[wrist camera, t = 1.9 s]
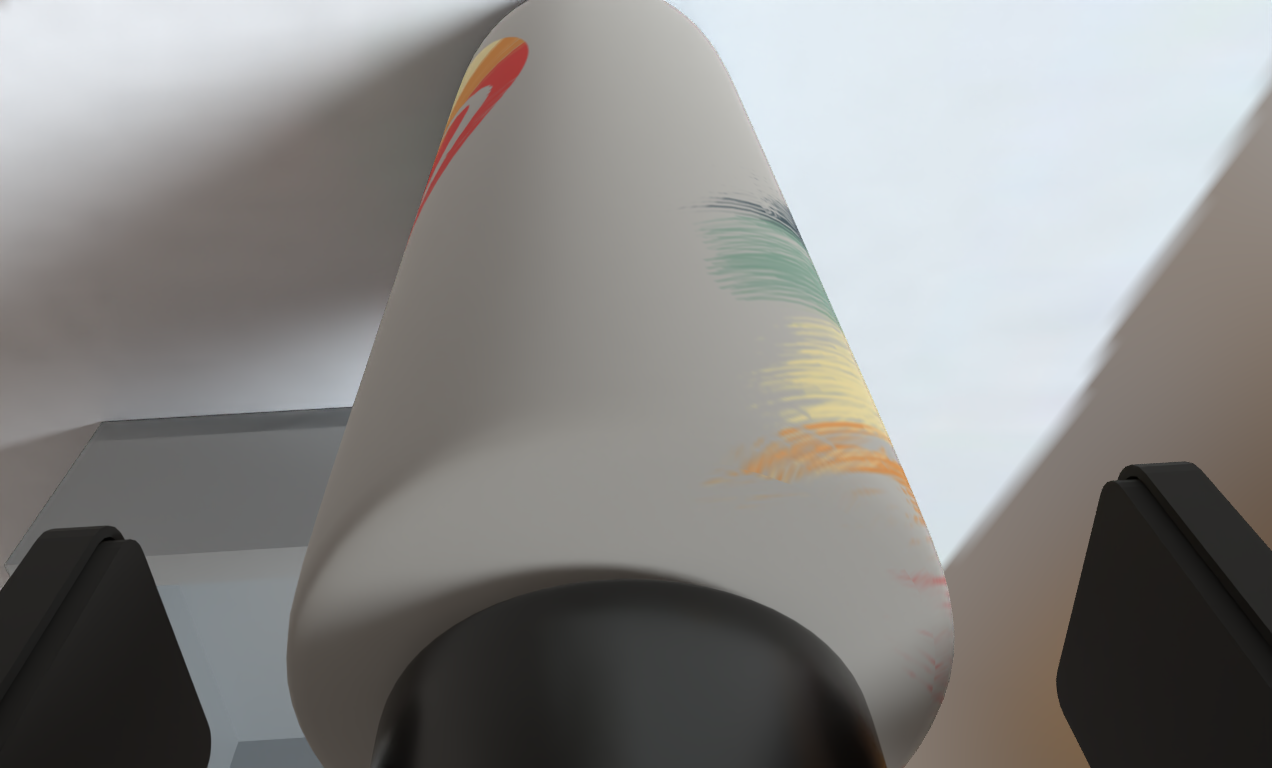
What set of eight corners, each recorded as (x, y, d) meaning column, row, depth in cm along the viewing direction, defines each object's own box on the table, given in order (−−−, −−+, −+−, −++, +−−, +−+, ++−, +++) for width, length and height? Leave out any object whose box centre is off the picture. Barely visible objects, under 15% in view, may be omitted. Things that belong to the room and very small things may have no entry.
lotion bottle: (422, 191, 22) (-95, 1724, 5) (515, -75, 19) (63, 1327, 2) (665, 281, 23) (888, 1710, 6) (782, 46, 21) (1689, 1453, 4)
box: (101, 422, 25) (4, 564, 20) (584, 393, 25) (586, 528, 21) (225, 738, 31) (169, 897, 27) (610, 713, 31) (615, 867, 27)
